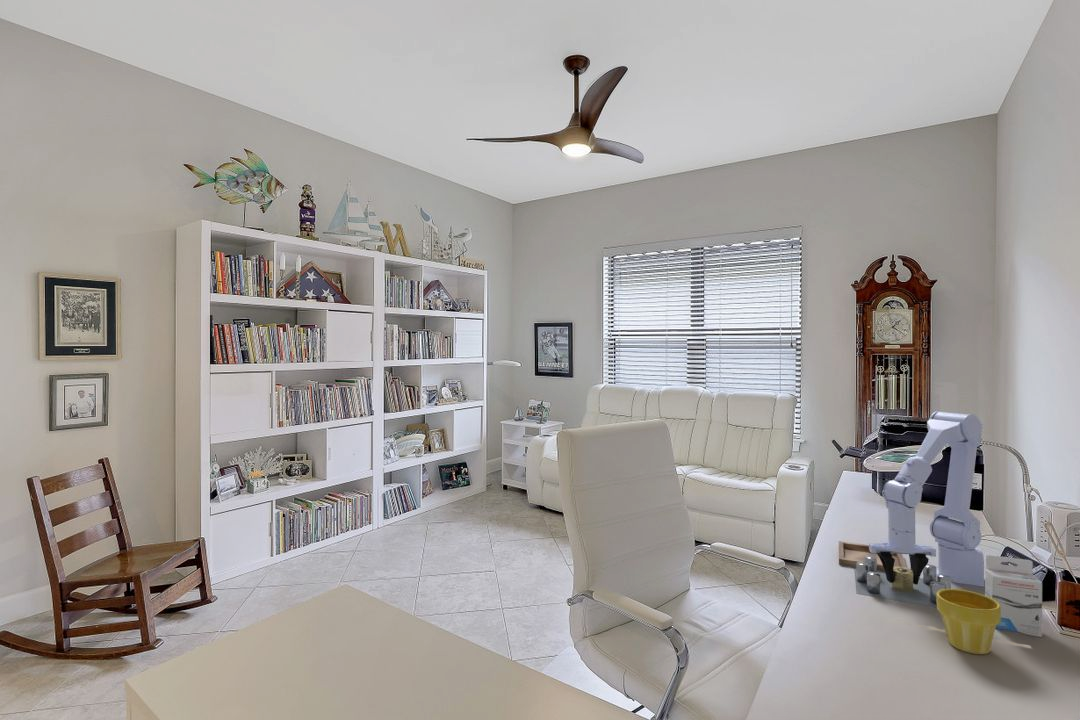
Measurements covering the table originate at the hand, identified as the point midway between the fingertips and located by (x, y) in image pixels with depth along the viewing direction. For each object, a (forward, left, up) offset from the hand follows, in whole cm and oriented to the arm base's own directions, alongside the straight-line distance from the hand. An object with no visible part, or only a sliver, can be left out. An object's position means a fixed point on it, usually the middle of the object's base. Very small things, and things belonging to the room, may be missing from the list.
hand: (902, 582), depth 137 cm
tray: (+6, -18, -2) cm, 19 cm away
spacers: (0, 0, -2) cm, 2 cm away
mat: (0, 0, -2) cm, 2 cm away
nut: (0, 0, -1) cm, 1 cm away
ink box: (-19, +12, -2) cm, 23 cm away
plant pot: (-9, +25, -2) cm, 27 cm away
